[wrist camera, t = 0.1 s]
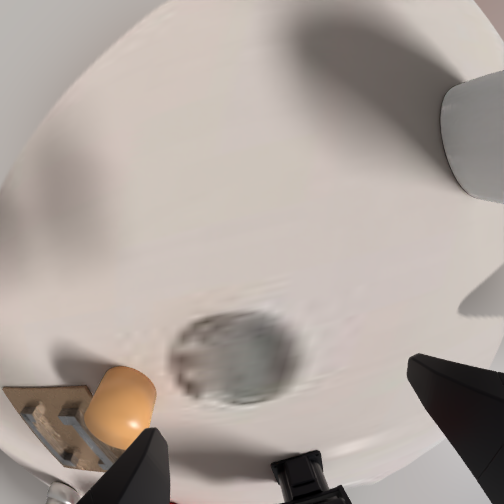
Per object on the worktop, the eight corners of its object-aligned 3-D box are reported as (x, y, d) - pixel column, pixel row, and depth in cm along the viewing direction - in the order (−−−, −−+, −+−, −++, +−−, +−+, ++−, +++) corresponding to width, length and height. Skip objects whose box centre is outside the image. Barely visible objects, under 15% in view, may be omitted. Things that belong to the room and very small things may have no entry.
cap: (165, 405, 24) (157, 449, 18) (118, 410, 24) (105, 449, 18) (142, 362, 23) (126, 404, 17) (94, 369, 22) (72, 407, 16)
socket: (150, 471, 26) (148, 482, 24) (65, 464, 25) (61, 473, 23) (85, 385, 22) (79, 396, 20) (3, 387, 21) (-3, 395, 19)
